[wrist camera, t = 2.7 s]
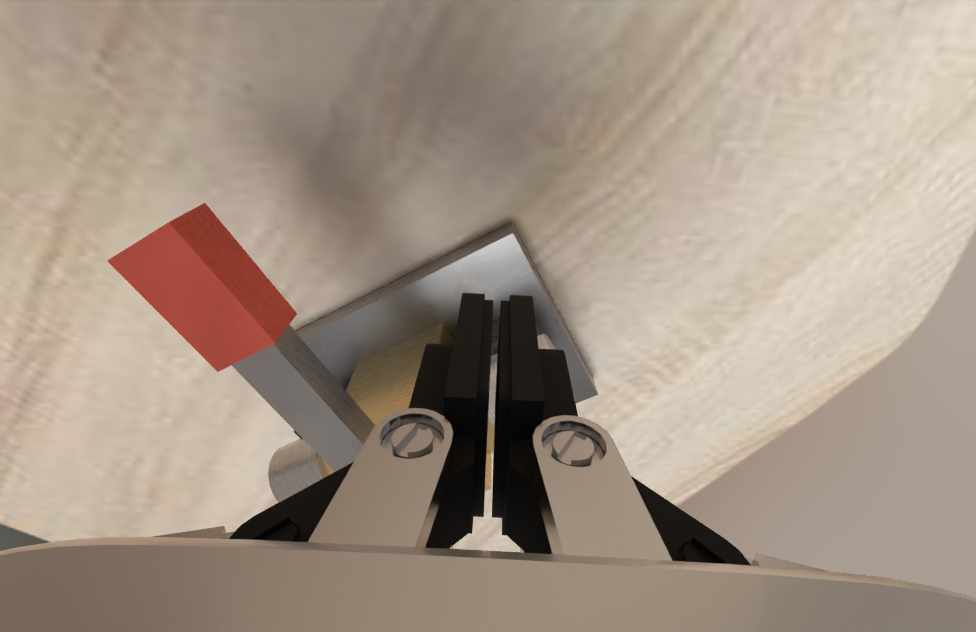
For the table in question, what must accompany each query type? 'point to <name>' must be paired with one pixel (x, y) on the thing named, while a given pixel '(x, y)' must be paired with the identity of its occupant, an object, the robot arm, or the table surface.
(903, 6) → the table surface
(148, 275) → the valve lever
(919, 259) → the table surface
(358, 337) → the valve manifold
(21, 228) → the table surface
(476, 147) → the table surface
